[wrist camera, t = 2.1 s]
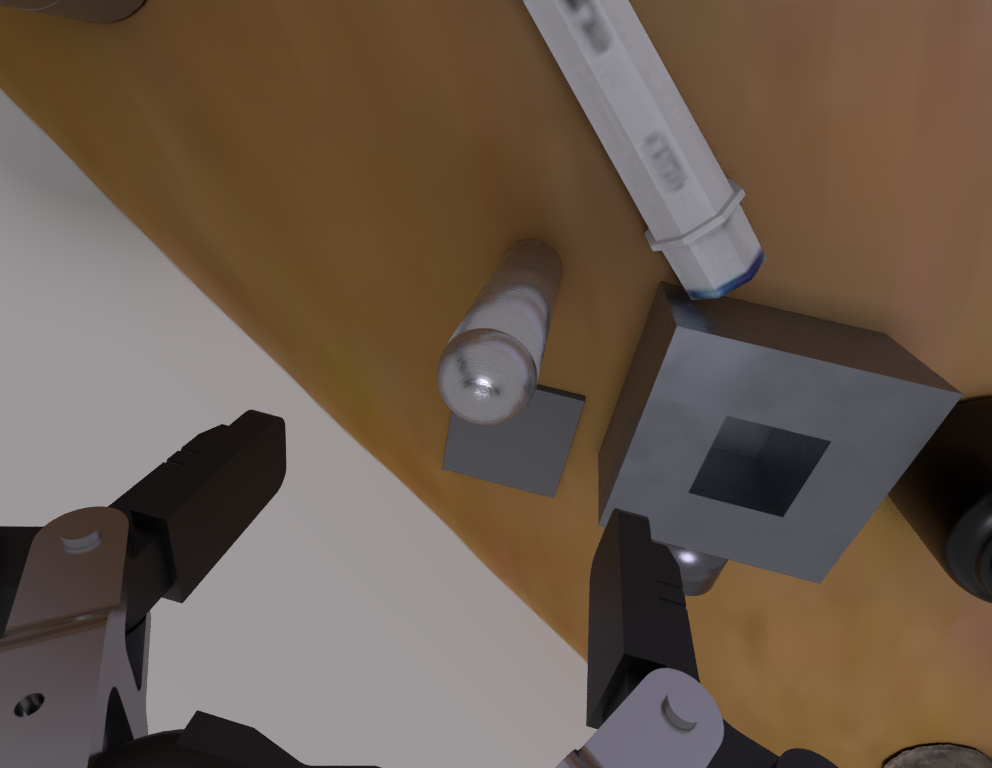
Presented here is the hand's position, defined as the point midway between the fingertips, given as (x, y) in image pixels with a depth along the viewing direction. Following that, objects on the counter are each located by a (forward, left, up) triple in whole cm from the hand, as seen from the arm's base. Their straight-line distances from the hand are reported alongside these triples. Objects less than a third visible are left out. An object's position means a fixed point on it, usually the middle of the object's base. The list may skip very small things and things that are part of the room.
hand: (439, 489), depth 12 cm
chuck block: (+13, -7, -19) cm, 24 cm away
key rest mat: (+1, -11, -19) cm, 22 cm away
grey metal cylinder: (0, 0, -19) cm, 19 cm away
